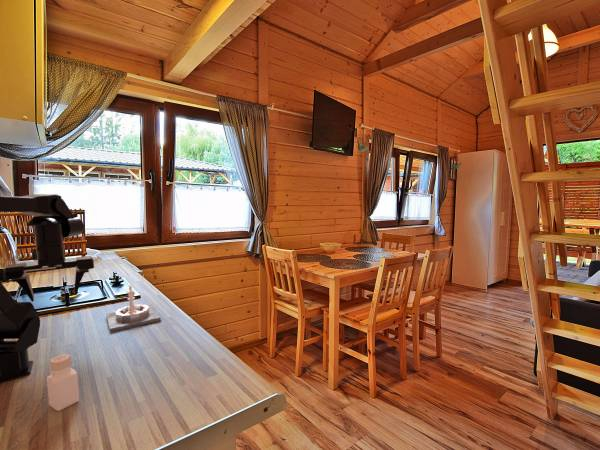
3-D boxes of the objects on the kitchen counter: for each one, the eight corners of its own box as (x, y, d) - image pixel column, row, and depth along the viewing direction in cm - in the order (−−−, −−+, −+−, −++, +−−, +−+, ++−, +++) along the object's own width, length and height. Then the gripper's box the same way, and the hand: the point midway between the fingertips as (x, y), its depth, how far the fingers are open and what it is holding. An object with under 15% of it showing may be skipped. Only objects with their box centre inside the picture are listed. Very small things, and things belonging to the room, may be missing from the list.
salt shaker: (57, 413, 59) (52, 365, 58) (48, 405, 61) (43, 360, 60) (81, 401, 62) (76, 356, 61) (71, 394, 64) (67, 350, 63)
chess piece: (121, 319, 99) (119, 288, 98) (126, 313, 104) (124, 284, 103) (138, 317, 100) (136, 287, 99) (142, 311, 105) (140, 282, 104)
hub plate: (160, 320, 101) (159, 311, 100) (110, 332, 92) (109, 322, 92) (152, 307, 112) (151, 299, 111) (106, 317, 104) (105, 308, 103)
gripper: (90, 234, 95) (94, 284, 97) (7, 240, 84) (13, 296, 86) (91, 239, 86) (96, 293, 88) (-1, 246, 75) (6, 308, 77)
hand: (55, 297), depth 85 cm, fingers open, 9 cm apart
